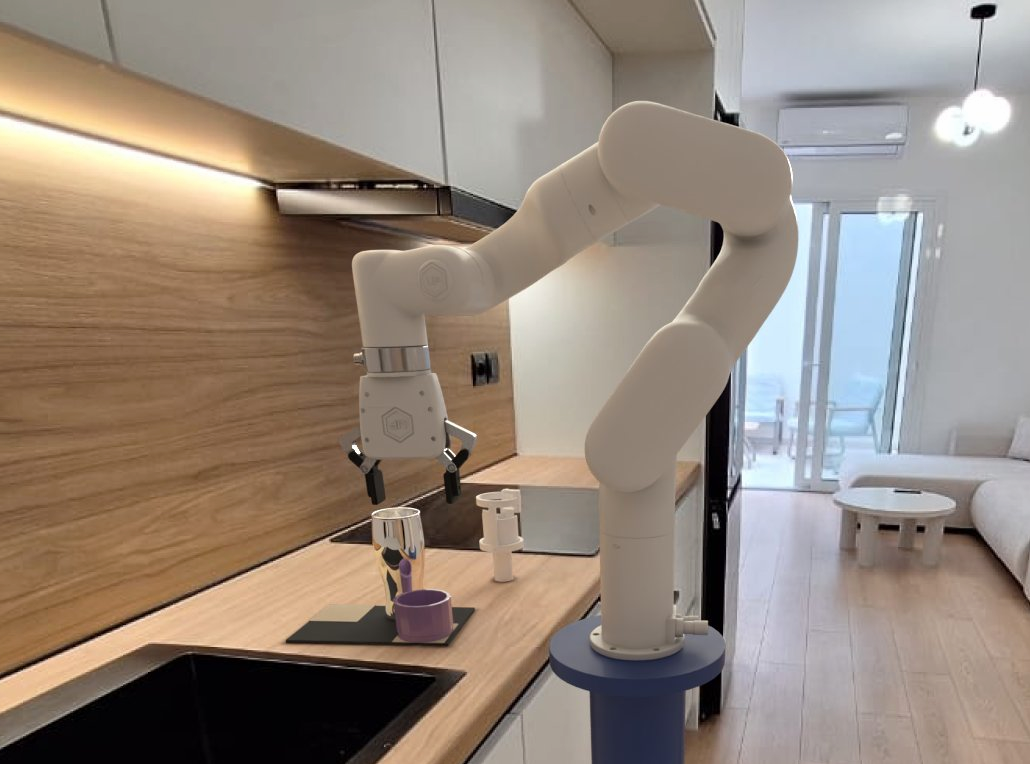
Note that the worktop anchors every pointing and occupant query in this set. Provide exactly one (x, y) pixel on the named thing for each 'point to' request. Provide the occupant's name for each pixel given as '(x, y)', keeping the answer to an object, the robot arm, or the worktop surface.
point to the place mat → (364, 626)
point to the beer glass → (398, 552)
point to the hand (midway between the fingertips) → (415, 502)
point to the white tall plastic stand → (501, 529)
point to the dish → (423, 615)
